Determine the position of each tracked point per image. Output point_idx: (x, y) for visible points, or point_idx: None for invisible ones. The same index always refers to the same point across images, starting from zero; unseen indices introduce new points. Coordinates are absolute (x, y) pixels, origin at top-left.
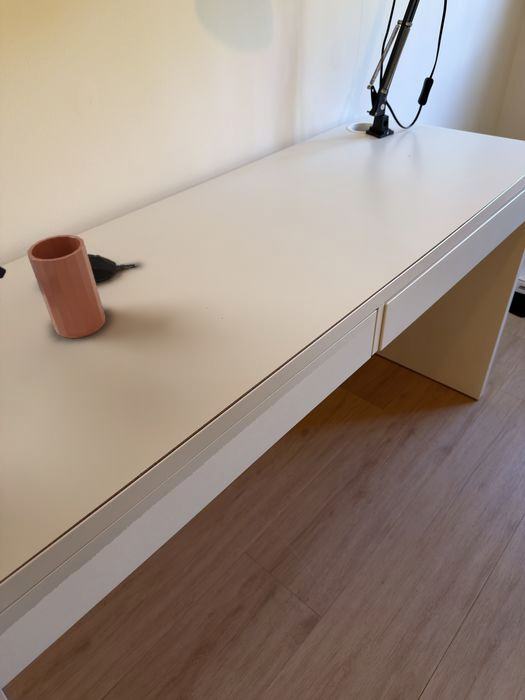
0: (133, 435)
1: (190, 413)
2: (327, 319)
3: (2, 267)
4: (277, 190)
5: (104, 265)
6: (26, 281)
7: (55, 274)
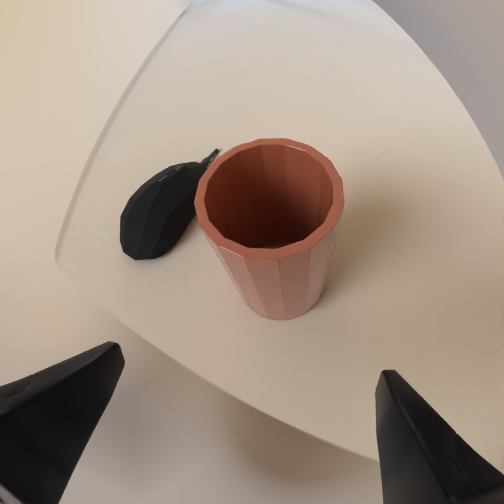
0: None
1: None
2: (464, 117)
3: (393, 376)
4: (232, 29)
5: (198, 173)
6: (106, 270)
7: (326, 250)
